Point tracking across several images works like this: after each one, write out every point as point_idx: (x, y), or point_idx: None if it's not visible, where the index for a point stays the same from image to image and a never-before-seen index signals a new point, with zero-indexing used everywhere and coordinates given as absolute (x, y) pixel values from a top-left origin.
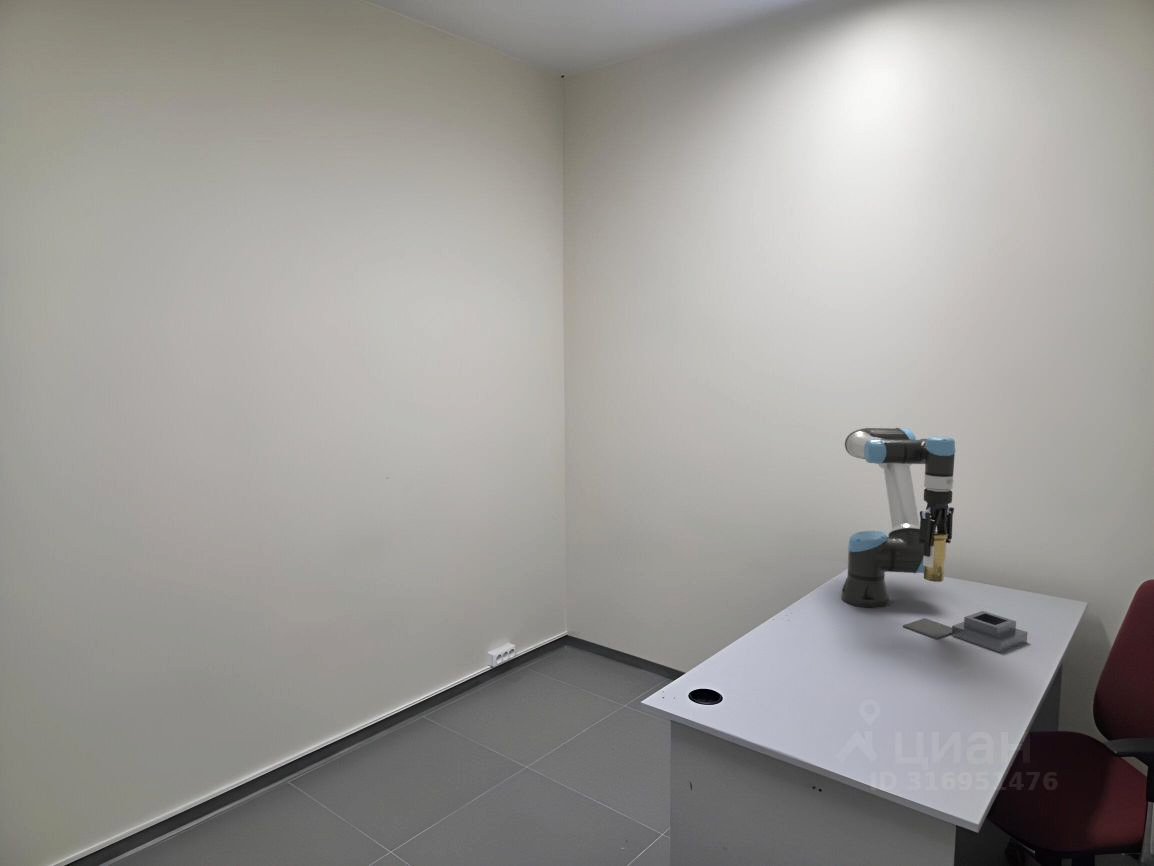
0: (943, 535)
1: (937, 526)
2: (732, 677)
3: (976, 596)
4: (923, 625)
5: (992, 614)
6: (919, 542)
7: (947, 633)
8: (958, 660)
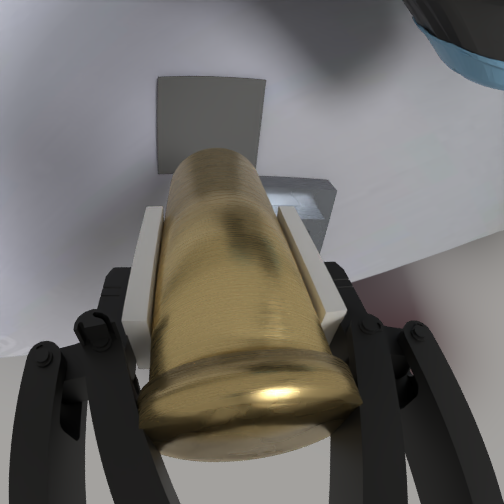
0: (240, 457)
1: (358, 469)
2: None
3: (483, 113)
4: (206, 107)
5: (314, 242)
6: (32, 353)
7: None
8: (110, 248)
